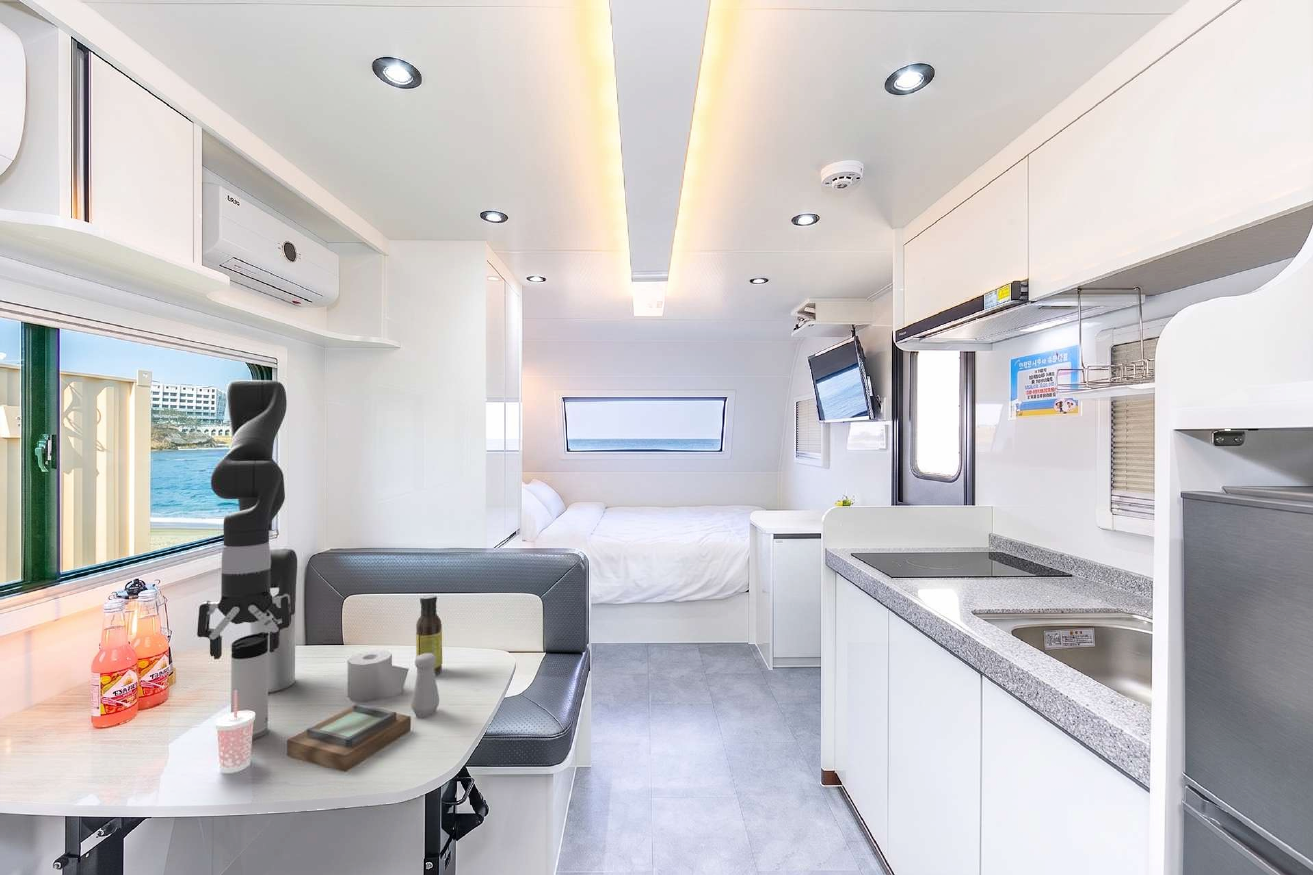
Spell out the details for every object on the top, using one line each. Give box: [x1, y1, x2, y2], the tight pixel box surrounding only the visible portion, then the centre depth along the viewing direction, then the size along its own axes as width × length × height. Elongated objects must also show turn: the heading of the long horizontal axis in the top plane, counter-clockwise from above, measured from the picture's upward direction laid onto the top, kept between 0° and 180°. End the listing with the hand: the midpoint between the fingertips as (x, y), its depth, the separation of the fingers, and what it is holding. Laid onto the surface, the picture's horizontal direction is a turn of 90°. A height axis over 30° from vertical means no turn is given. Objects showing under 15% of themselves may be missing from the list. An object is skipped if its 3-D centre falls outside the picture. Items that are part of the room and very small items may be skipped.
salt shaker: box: [410, 653, 440, 719], centre depth 130 cm, size 6×6×13 cm
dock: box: [286, 703, 412, 772], centre depth 117 cm, size 15×16×4 cm
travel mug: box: [230, 632, 269, 741], centre depth 120 cm, size 6×7×20 cm
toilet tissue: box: [346, 649, 410, 703], centre depth 141 cm, size 9×13×9 cm
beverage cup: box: [214, 690, 255, 774], centre depth 109 cm, size 6×6×14 cm
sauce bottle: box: [415, 594, 443, 676], centre depth 152 cm, size 6×6×20 cm
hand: (245, 654), depth 109 cm, fingers open, 8 cm apart
